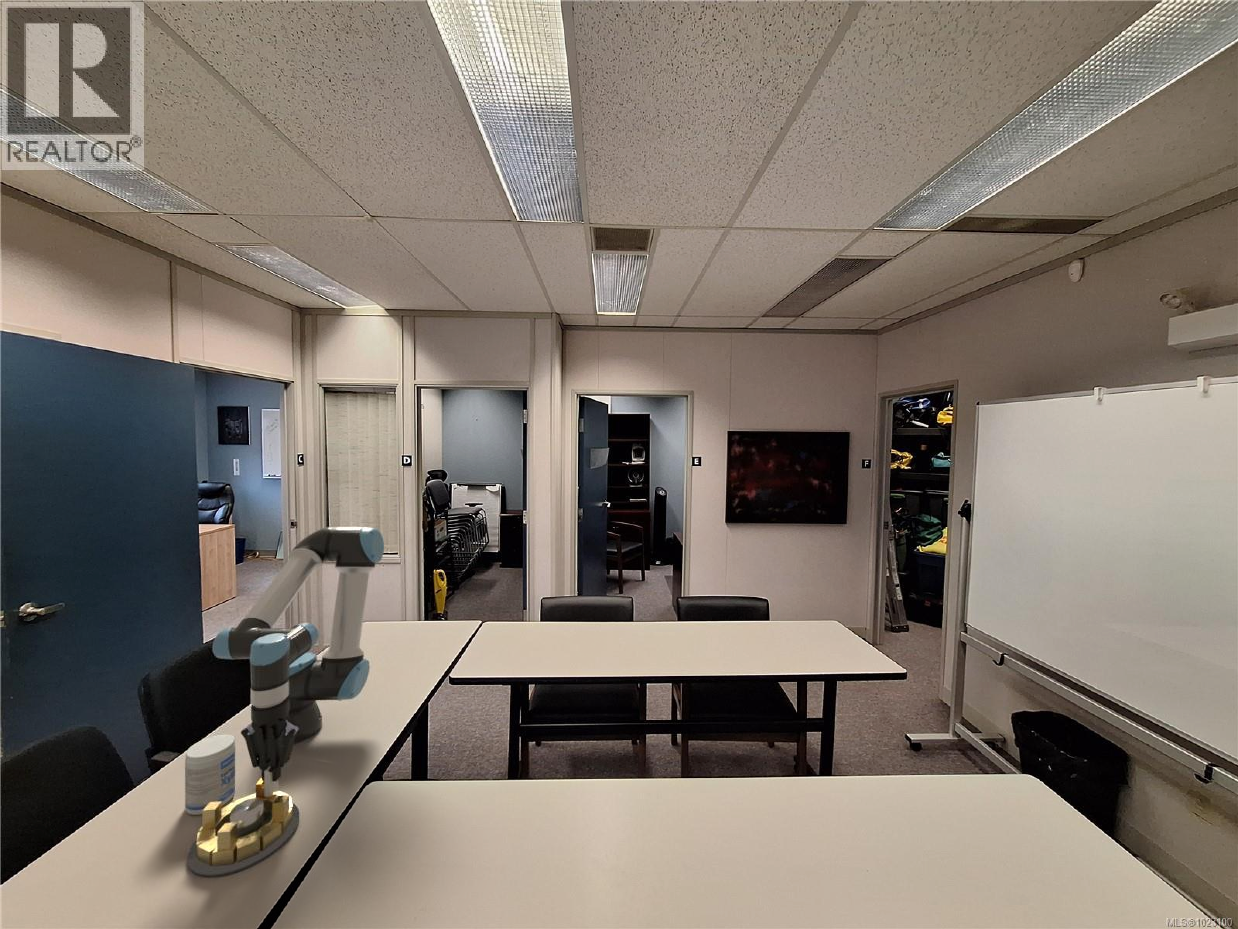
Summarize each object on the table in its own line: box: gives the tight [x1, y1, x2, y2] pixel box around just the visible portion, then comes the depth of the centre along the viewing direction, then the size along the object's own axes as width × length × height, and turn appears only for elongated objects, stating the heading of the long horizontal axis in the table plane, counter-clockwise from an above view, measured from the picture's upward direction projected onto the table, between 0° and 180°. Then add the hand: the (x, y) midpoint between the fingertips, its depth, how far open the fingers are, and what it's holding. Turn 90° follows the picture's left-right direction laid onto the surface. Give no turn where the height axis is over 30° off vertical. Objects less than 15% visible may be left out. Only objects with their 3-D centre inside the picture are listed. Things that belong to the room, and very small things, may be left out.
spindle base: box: [187, 798, 300, 878], centre depth 106 cm, size 20×20×7 cm
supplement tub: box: [184, 734, 236, 816], centre depth 115 cm, size 10×10×15 cm
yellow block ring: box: [196, 777, 293, 866], centre depth 106 cm, size 17×17×7 cm
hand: (271, 792), depth 113 cm, fingers closed
